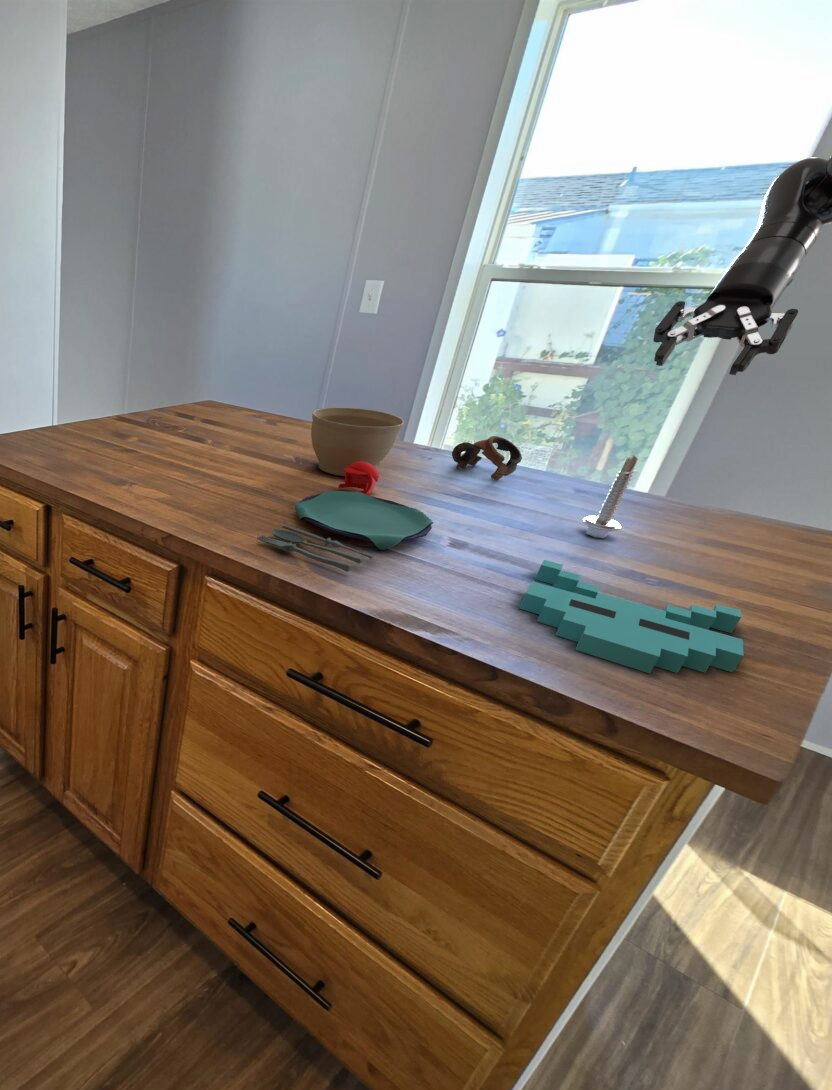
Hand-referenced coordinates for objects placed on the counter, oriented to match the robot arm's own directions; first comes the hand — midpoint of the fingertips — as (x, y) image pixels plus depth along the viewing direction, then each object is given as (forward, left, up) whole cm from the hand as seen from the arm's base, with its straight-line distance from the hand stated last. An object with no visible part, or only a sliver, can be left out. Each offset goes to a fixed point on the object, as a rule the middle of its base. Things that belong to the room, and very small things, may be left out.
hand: (695, 366), depth 98 cm
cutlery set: (+21, +46, -25) cm, 56 cm away
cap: (+31, +28, -25) cm, 49 cm away
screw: (-1, +12, -25) cm, 27 cm away
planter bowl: (+40, +18, -25) cm, 51 cm away
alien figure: (-14, +42, -25) cm, 51 cm away
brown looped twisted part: (+25, -4, -25) cm, 36 cm away
